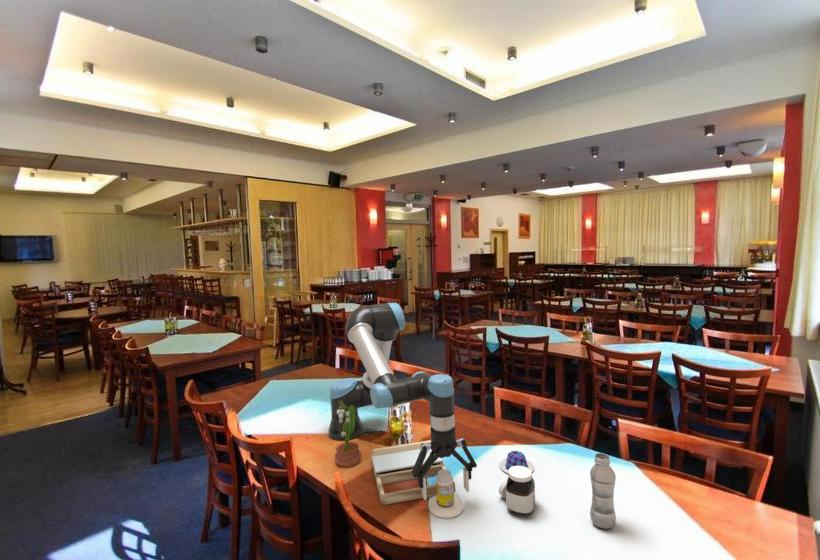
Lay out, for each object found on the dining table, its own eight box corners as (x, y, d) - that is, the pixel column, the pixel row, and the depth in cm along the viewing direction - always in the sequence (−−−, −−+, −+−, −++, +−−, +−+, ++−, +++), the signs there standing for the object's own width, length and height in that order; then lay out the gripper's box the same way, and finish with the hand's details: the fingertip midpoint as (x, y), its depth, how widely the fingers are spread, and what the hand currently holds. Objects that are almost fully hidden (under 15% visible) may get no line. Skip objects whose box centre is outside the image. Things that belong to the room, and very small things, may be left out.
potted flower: (354, 472, 147) (350, 405, 145) (329, 470, 149) (324, 405, 147) (364, 455, 158) (361, 393, 157) (341, 454, 160) (337, 393, 159)
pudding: (541, 470, 142) (541, 456, 142) (516, 481, 137) (515, 466, 136) (517, 456, 153) (516, 443, 152) (492, 465, 147) (492, 452, 147)
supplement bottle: (439, 497, 128) (438, 466, 127) (456, 500, 126) (455, 469, 125) (434, 507, 123) (432, 475, 122) (451, 511, 121) (450, 478, 120)
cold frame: (371, 463, 152) (371, 456, 152) (433, 453, 157) (433, 446, 157) (381, 505, 127) (381, 496, 127) (455, 491, 132) (454, 483, 132)
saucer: (424, 499, 129) (424, 496, 129) (457, 493, 131) (457, 490, 131) (434, 522, 118) (434, 518, 118) (469, 515, 120) (469, 511, 120)
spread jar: (529, 522, 116) (528, 483, 115) (491, 510, 122) (490, 473, 121) (539, 499, 126) (538, 463, 125) (504, 489, 132) (503, 455, 131)
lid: (371, 455, 151) (370, 449, 151) (433, 445, 157) (433, 439, 156) (375, 473, 139) (375, 466, 139) (443, 461, 144) (442, 455, 144)
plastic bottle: (585, 518, 116) (584, 451, 115) (607, 515, 117) (607, 449, 116) (597, 533, 110) (596, 463, 109) (621, 531, 111) (620, 461, 109)
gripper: (405, 438, 116) (408, 508, 118) (485, 425, 122) (488, 492, 123) (400, 427, 124) (403, 493, 125) (476, 416, 129) (478, 479, 130)
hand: (445, 493), depth 124 cm, fingers open, 13 cm apart
